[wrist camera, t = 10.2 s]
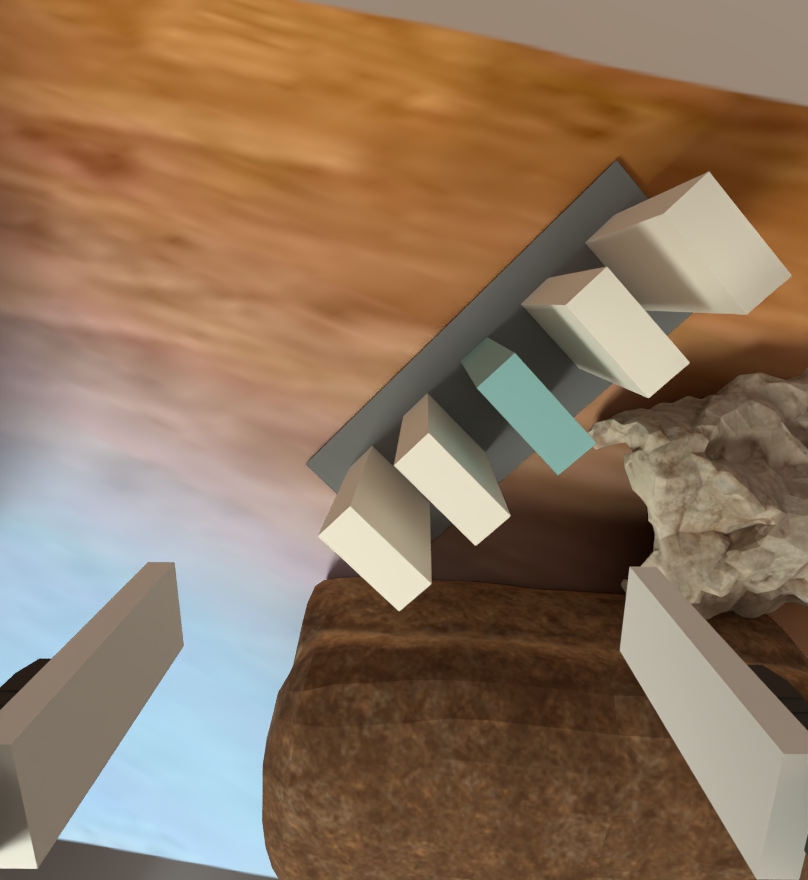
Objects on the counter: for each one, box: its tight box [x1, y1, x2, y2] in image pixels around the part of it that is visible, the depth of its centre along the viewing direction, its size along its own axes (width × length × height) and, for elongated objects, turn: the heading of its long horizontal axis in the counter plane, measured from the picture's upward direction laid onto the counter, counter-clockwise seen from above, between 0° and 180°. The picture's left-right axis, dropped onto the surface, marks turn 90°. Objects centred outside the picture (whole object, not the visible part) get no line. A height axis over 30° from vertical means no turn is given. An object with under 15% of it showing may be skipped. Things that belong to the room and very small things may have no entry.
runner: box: [306, 160, 693, 542], centre depth 32 cm, size 24×9×1 cm, turn 134°
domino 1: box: [318, 446, 432, 611], centre depth 28 cm, size 2×5×10 cm, turn 45°
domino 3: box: [585, 172, 792, 315], centre depth 25 cm, size 2×5×10 cm, turn 44°
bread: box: [262, 577, 808, 880], centre depth 31 cm, size 17×30×13 cm, turn 86°
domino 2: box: [394, 393, 511, 546], centre depth 27 cm, size 2×5×10 cm, turn 45°
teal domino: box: [461, 337, 596, 475], centre depth 27 cm, size 2×5×10 cm, turn 44°
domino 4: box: [521, 267, 690, 398], centre depth 26 cm, size 2×5×10 cm, turn 45°
